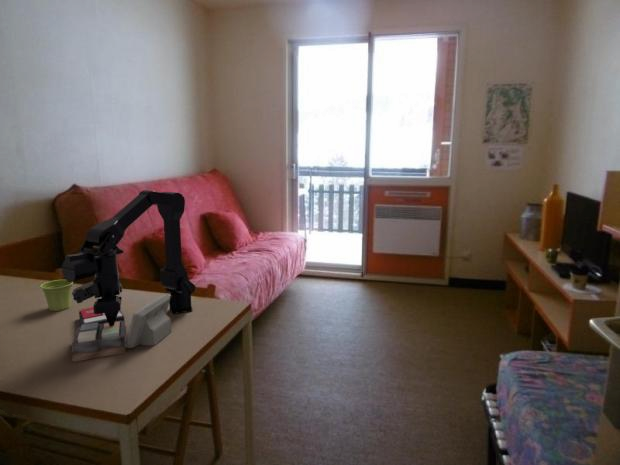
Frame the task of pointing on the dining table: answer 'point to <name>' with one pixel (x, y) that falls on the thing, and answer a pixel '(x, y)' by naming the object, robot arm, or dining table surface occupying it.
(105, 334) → the key sage
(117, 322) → the key terracotta
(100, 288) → the robot arm
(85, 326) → the key slate
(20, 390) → the dining table surface
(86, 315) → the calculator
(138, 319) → the digital clock
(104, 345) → the keypad
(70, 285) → the plant pot
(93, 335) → the key cream
